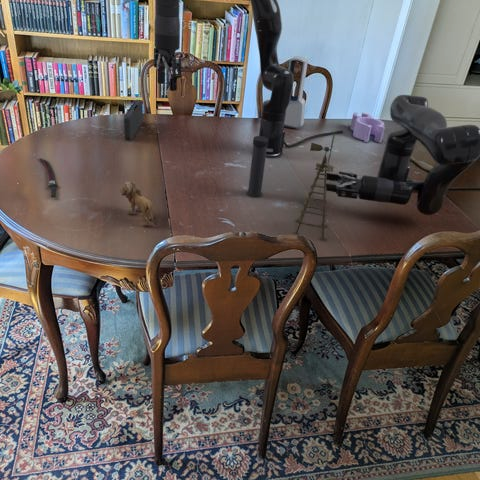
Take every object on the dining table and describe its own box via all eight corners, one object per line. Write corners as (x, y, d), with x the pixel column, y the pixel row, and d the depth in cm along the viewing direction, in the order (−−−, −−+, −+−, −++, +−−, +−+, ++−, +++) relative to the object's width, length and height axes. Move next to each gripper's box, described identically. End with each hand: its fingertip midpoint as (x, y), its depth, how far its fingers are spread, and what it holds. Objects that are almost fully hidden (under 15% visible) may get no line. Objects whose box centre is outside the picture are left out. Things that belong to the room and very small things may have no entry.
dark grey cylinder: (253, 198, 152) (260, 143, 142) (245, 193, 155) (251, 138, 145) (263, 195, 155) (270, 141, 145) (255, 190, 158) (261, 136, 147)
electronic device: (303, 125, 218) (315, 58, 202) (300, 130, 212) (311, 61, 196) (278, 120, 221) (287, 54, 205) (273, 125, 215) (283, 56, 199)
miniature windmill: (323, 240, 134) (345, 141, 118) (294, 234, 135) (312, 135, 119) (324, 224, 142) (346, 129, 126) (297, 219, 143) (314, 124, 127)
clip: (343, 126, 223) (346, 112, 219) (367, 127, 225) (371, 113, 221) (360, 142, 206) (364, 127, 202) (386, 142, 209) (390, 127, 205)
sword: (61, 197, 141) (61, 193, 140) (50, 198, 139) (50, 194, 139) (49, 160, 164) (48, 156, 163) (39, 160, 163) (39, 157, 162)
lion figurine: (118, 210, 138) (116, 182, 133) (132, 204, 141) (131, 177, 137) (151, 229, 130) (150, 201, 126) (165, 223, 134) (165, 195, 129)
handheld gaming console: (136, 121, 202) (136, 98, 197) (143, 121, 202) (142, 98, 197) (123, 140, 183) (122, 115, 178) (130, 141, 183) (130, 116, 178)
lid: (259, 148, 143) (260, 142, 142) (249, 143, 146) (250, 137, 145) (270, 145, 145) (271, 139, 144) (261, 140, 148) (261, 134, 147)
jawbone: (446, 180, 181) (448, 175, 179) (397, 163, 191) (398, 159, 190) (455, 172, 186) (456, 167, 185) (406, 156, 197) (407, 152, 195)
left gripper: (189, 36, 136) (188, 92, 145) (167, 27, 145) (167, 80, 154) (166, 36, 132) (166, 94, 141) (145, 27, 142) (146, 81, 150)
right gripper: (377, 169, 150) (326, 161, 152) (380, 187, 138) (326, 179, 140) (371, 190, 154) (322, 182, 156) (374, 210, 142) (321, 201, 144)
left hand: (166, 86), depth 148 cm, fingers open, 8 cm apart
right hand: (324, 181), depth 148 cm, fingers open, 8 cm apart
